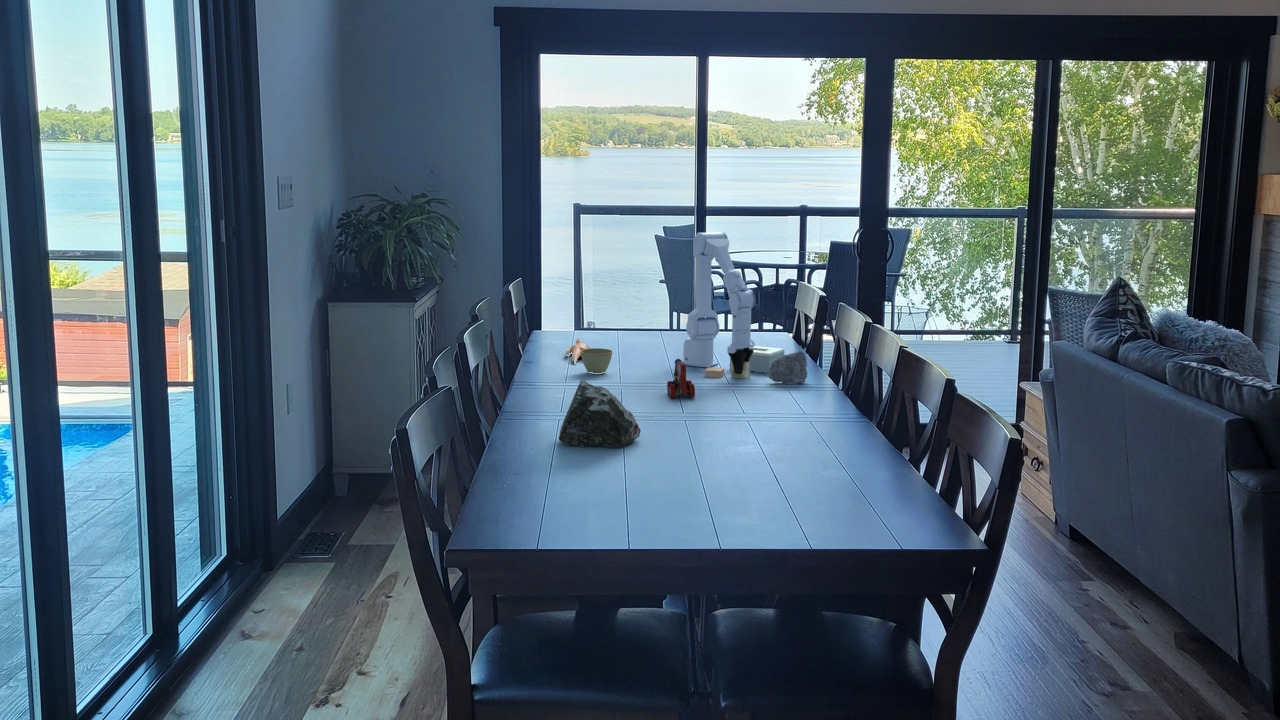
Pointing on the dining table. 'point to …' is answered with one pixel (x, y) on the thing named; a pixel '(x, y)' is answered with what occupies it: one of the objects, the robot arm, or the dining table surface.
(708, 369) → the block
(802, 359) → the rock
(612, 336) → the dining table surface
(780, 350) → the box
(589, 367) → the flower pot
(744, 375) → the block
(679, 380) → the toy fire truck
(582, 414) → the stone
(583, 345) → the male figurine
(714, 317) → the robot arm
